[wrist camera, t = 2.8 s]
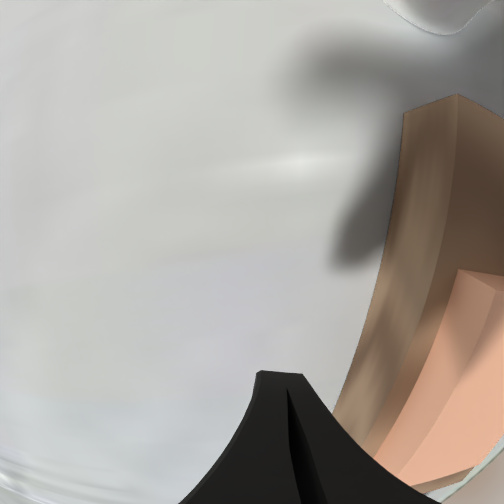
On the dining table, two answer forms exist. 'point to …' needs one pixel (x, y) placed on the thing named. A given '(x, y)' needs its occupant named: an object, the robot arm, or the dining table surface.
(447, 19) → the beer glass
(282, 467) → the robot arm
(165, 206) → the dining table surface
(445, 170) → the brown wooden block
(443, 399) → the tile
